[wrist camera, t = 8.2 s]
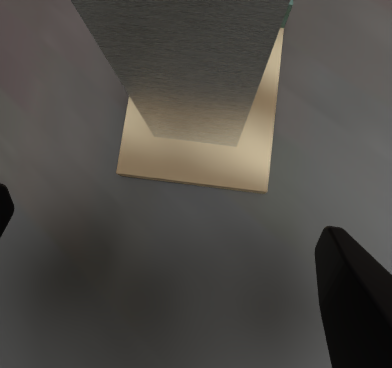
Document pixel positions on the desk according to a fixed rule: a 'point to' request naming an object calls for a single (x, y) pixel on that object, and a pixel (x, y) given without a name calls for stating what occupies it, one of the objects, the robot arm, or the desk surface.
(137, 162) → the stand
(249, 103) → the grey tall block
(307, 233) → the desk surface
